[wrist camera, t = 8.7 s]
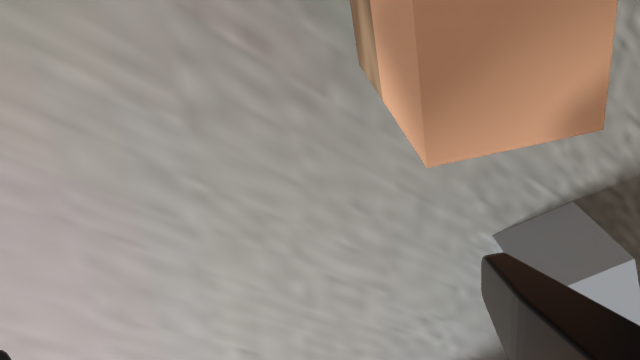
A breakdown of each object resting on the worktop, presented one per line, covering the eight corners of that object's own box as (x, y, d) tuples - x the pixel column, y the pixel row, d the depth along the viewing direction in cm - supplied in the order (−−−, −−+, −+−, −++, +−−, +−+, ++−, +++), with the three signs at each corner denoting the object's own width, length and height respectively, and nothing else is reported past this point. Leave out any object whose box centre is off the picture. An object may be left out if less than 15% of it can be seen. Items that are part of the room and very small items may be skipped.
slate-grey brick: (597, 309, 27) (654, 377, 23) (527, 336, 27) (572, 408, 23) (570, 199, 23) (634, 258, 19) (490, 233, 23) (536, 298, 19)
